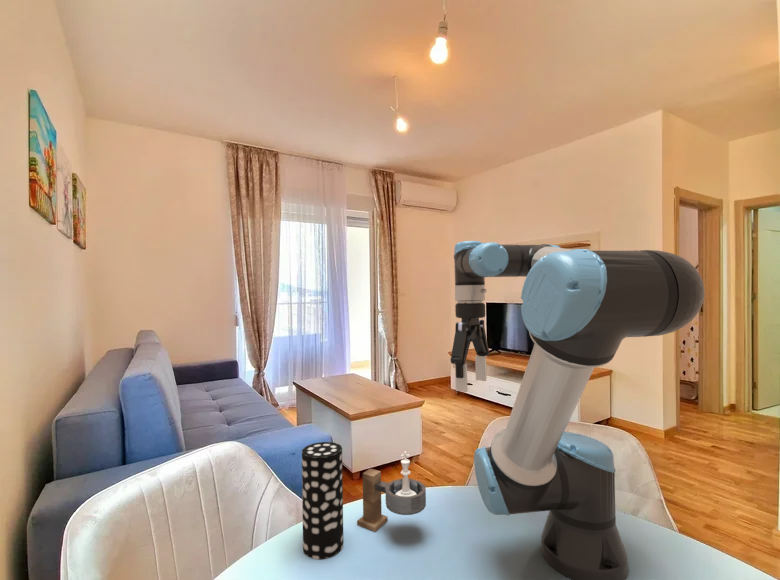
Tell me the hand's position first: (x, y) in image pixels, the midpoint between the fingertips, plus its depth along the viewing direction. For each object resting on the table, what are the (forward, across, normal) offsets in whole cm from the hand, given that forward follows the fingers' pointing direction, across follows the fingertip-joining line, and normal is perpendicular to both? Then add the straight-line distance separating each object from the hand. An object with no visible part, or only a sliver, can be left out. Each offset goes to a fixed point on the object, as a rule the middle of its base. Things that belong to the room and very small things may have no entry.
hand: (471, 385), depth 99 cm
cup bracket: (+22, -22, +9) cm, 32 cm away
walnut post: (+29, -22, +16) cm, 40 cm away
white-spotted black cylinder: (+29, -34, +20) cm, 49 cm away
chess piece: (+21, -22, +7) cm, 31 cm away
